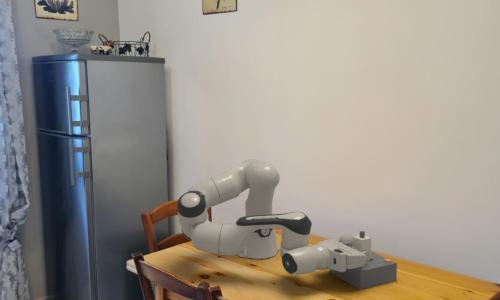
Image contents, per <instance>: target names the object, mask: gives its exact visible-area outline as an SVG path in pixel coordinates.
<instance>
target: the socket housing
mask: <svg viewBox="0 0 500 300" xmlns="http://www.w3.org/2000/svg"><path fill="white" fill-rule="evenodd" d="M397 267H398V263H397V261H396V262H395V261H393V260H391V259H389V258H386V257H385V256H382V255H379V254H378V253H376V252H373V251H372V250H371V261H367V262H366V264H365V265H364V266H361V267H358V268H354V269H346V271H345V272H339V271H336V270H328V272H329V273H331V274H332V275H335V276H336V277H338V278H339V279H341V280H343V281H345V282H346V283H348V284H349V285H351V286H353V287H355V288H356V289H357V290H365V289H369V288H373V287H376V286H380V285H385V284H389V283H392V282H397V278H398V277H397V275H398V274H397V273H398V270H397V269H398V268H397Z"/></svg>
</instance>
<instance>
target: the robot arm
mask: <svg viewBox="0 0 500 300" xmlns="http://www.w3.org/2000/svg"><path fill="white" fill-rule="evenodd" d="M280 179H281V178H280V173H279V171H278V170H277V169H276V167H274V166H273V165H272V164H270V163H267V162H265V161H262V160H259V159H255V158H252V159H251V158H250V159H246V160H243V161H242V162H241V163H240V164H237V165H236V166H234V167H233V168H231V169H229V170H227V171H224V172H221V173H220V174H217V175H214V176H211V177H209V178H206V179H204V180H201V181H200V182H197V183H196V184H194V185H192V186H191V187H189V189H188V190H187V192H185V193H183V194H182V195H180V197H178V199H177V204H176V210H177V218H178V223H179V225H180V229H181V233H182V235H183V237H184V238H186V240H187V241H189V242H191V244H192V246H193V248H195V249H196V250H199V251H202V252H205V253H210V254H214V255H220V256H235V255H237V257H239V258H249V259H254V260H261V259H268V258H272V257H275V256H276V255H277V253H278V252H279V251H280V252H279V253H280V254H279V256H280V257H281V264H282V267H283V269H284V270H285V271H286V273H288V274H289V275H305V274H306V275H307V274H311V273H315V272H316V271H318V270H319V271H325V270H328V271H329V270H336V271H339V272H345V271H346V269H354V268H358V267H361V266H364V265H365V264H366V256H369V251H368V250H363V252H360V251H357V250H355V249H353V247H352V243H350V242H347V243H343V242H339V241H338V240H336V239H333V238H329V239H328V238H327V239H325V240H320V241H318V243H315V244H313V245H312V246H310V245H309V241H310V235H311V234H310V233H311V231H312V230H311V229H312V225H313V224H312V221H311V219H310V218H309V217H308V216H307V215H306V213H305V212H301V211H290V212H285V213H276V214H274V213H273V201H274V200H273V199H274V198H273V197H274V195H275V194H274V193H275V190H276V188H277V187H278V185H279V183H280ZM248 189H249V191H248V195H247V199H246V200H245V203H244V205H245V206H244V207H245V215H244V216H241V217H239V218H238V219H237V220H236V221H234V222H231V223H221V222H217V223H216V222H212V221H210V220H209V213H208V210H209V209H210V208H212V207H215V206H218V205H221V204H224V203H226V202H228V201H231V200H235V199H236V198H238V197H239V196H240V195H241V194H242V193H243V192H245V191H247V190H248ZM274 229H280V230H281V239H280V240H281V241H280V247H279V246H278V241H277V233H276V232H277V231H276V230H274Z"/></svg>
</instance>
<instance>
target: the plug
mask: <svg viewBox="0 0 500 300" xmlns="http://www.w3.org/2000/svg"><path fill="white" fill-rule="evenodd" d="M352 237H353V247H352V248H353V249H355V250H357V251H360V252H363V250H368V251H369V256H366V262H367V261H371V251H372V238H371V237H369V236H367V235H366V232H365V230H364V231H362V230H361V231H360V230H359V235H356V236H355V235H354V236H352Z"/></svg>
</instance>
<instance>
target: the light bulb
mask: <svg viewBox="0 0 500 300" xmlns="http://www.w3.org/2000/svg"><path fill="white" fill-rule="evenodd" d="M353 237H354V236H352V235H351V234H348V233H344V234H341V236H340V237H339V239H338V240H339V241H338V242H343V243H347V242H350V243H352V248H353Z"/></svg>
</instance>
